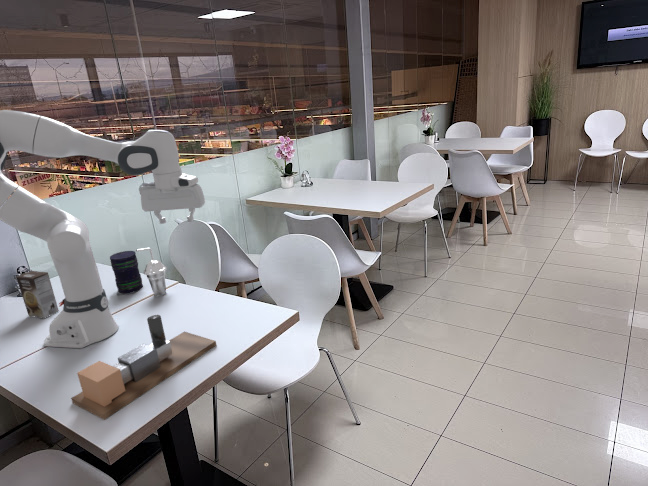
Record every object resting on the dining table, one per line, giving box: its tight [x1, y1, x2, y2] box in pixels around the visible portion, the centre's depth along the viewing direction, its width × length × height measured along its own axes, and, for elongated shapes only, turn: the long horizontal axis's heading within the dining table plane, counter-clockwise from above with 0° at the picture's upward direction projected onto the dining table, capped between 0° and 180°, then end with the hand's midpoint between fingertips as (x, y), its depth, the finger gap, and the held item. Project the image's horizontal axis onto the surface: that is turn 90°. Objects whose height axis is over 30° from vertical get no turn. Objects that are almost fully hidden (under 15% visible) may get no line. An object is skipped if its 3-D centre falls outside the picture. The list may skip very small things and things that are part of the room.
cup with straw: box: [135, 247, 168, 297], centre depth 178 cm, size 8×9×20 cm
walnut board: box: [70, 331, 217, 421], centre depth 128 cm, size 37×14×2 cm, turn 147°
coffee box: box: [15, 270, 60, 319], centre depth 170 cm, size 9×6×16 cm
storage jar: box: [109, 250, 144, 295], centre depth 187 cm, size 10×10×15 cm
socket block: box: [76, 360, 125, 407], centre depth 116 cm, size 6×9×7 cm, turn 57°
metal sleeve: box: [117, 343, 161, 383], centre depth 125 cm, size 8×6×6 cm
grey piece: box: [112, 314, 173, 384], centre depth 123 cm, size 21×4×12 cm, turn 147°
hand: (176, 222), depth 152 cm, fingers open, 8 cm apart
